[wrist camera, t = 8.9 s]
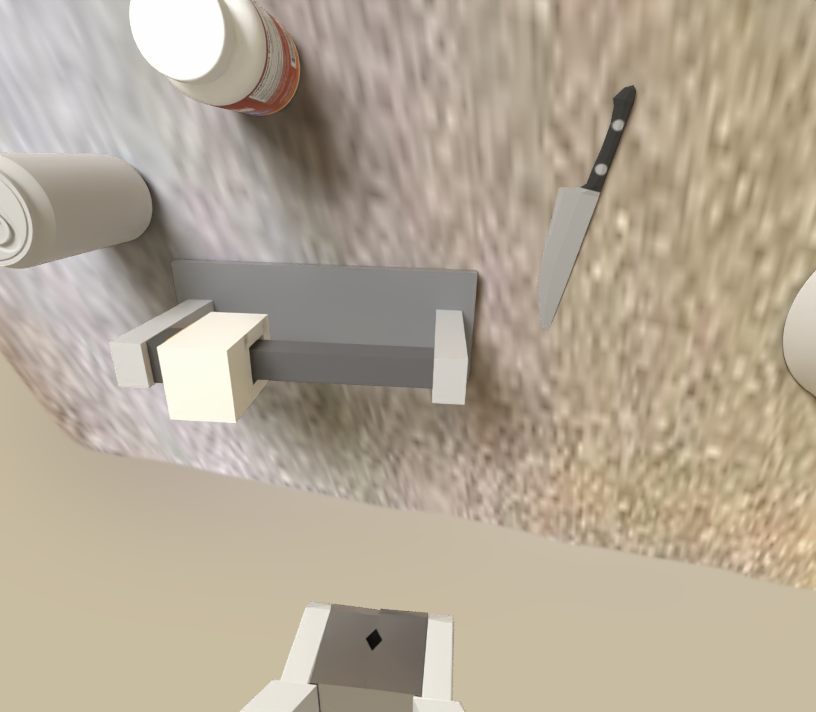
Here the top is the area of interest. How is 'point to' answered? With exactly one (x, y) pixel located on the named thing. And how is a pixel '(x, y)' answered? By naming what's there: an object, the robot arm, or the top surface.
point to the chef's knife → (576, 216)
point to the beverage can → (67, 205)
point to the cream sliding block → (212, 367)
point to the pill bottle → (219, 52)
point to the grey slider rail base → (324, 323)
